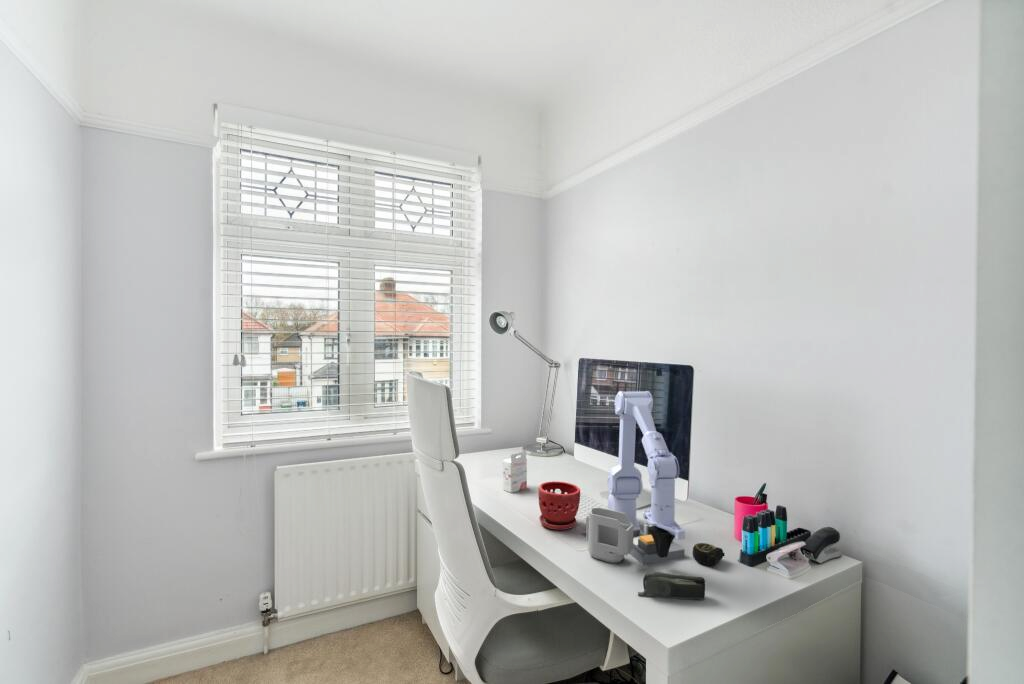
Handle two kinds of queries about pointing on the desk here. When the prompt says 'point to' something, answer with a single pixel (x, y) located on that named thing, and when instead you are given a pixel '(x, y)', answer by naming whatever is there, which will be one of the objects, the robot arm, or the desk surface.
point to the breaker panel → (644, 558)
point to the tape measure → (707, 553)
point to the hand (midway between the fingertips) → (662, 556)
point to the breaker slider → (647, 544)
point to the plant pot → (558, 505)
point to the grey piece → (609, 534)
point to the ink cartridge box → (515, 473)
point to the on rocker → (643, 527)
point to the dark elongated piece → (673, 586)
